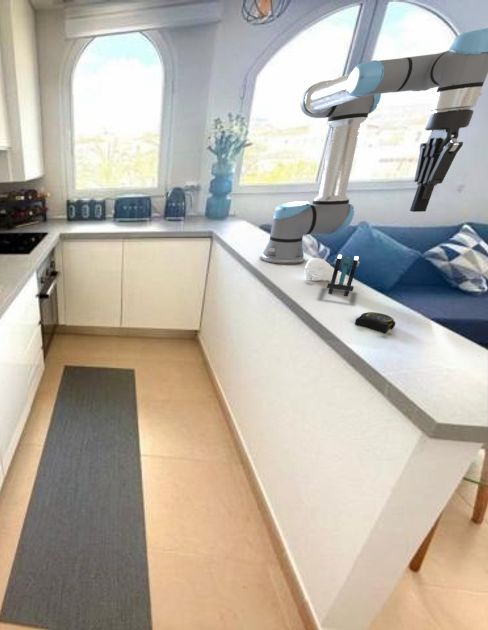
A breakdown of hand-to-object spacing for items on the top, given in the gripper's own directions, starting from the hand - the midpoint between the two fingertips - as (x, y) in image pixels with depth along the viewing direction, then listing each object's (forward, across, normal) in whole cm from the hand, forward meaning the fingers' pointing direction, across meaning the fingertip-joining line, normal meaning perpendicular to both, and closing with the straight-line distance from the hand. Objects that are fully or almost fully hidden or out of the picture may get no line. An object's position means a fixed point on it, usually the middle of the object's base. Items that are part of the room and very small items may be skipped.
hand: (417, 211), depth 93 cm
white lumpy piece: (+27, +14, +13) cm, 33 cm away
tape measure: (+27, -22, +11) cm, 36 cm away
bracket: (+26, +2, +12) cm, 29 cm away
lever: (+19, -2, +13) cm, 23 cm away
